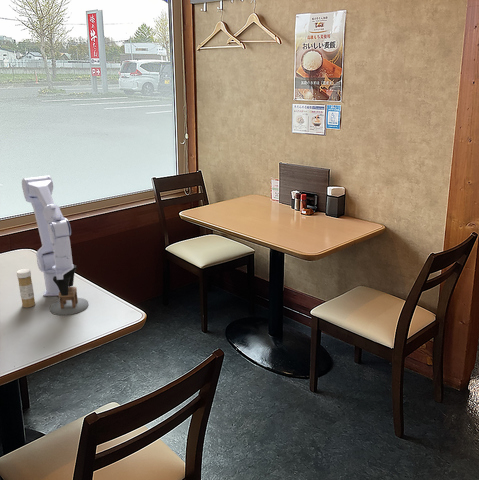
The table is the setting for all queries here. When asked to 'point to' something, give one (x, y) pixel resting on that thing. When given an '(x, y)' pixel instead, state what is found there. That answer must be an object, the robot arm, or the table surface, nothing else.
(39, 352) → the table surface
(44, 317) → the table surface
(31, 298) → the sprinkles bottle
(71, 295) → the stool
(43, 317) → the table surface
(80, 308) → the mat
